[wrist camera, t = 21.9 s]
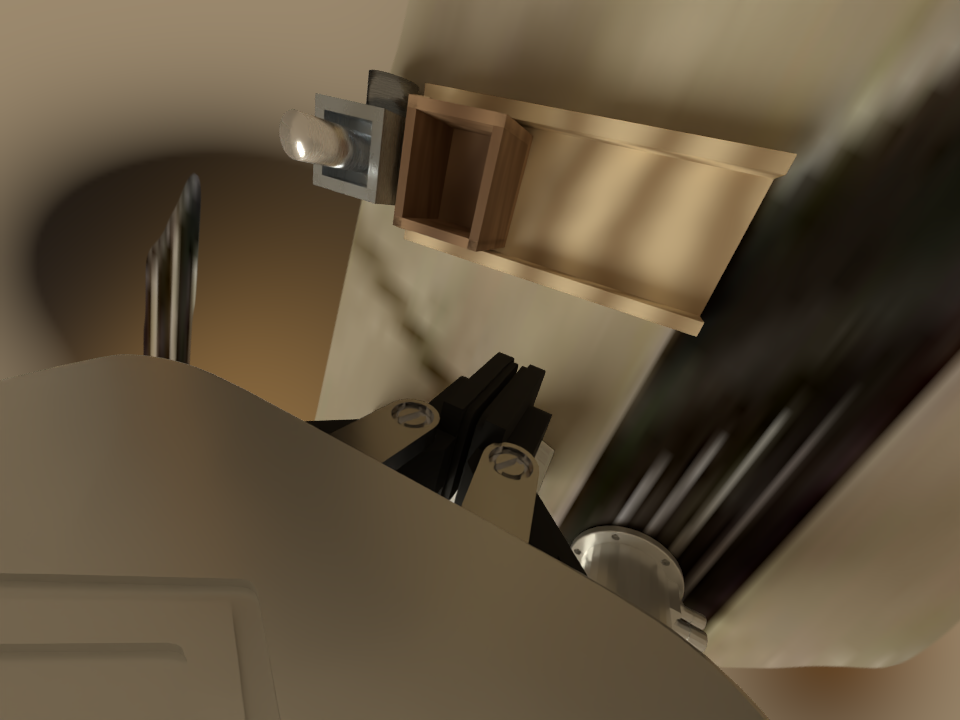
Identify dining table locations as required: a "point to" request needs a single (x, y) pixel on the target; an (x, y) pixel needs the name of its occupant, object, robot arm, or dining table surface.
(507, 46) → the dining table surface
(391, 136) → the grey hollow block
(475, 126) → the crate
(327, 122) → the pin
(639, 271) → the tray
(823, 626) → the dining table surface
